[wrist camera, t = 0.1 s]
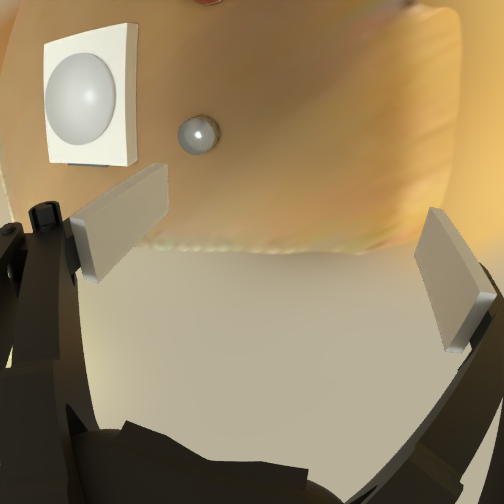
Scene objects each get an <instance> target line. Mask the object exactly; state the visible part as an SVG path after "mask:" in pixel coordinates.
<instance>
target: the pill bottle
mask: <svg viewBox="0 0 504 504" xmlns="http://www.w3.org/2000/svg"><path fill="white" fill-rule="evenodd" d="M194 1H196V2H198V3H201V4H214V3H217V2H219V1H221V0H194Z"/></svg>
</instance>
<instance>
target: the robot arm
mask: <svg viewBox="0 0 504 504" xmlns="http://www.w3.org/2000/svg"><path fill="white" fill-rule="evenodd" d="M28 213H29V217H30V221H31V225H32V229H33V233H24V231H23V227H22V224H21V223H19V222H14V223H8V224H5V225H4V226H3V227H2V228H0V504H455V503H456V501H457V500H458V498H459V496H460V495H461V493H462V491H463V486H464V485H463V484H461V483H460V479H461V477H462V475H463V474H464V472H465V471H466V469H467V467H468V466H469V464H470V462H471V460H472V459H473V457H474V455H475V453H476V452H477V449H478V448H479V446H480V444H481V442H482V440H483V438H484V437H485V435H486V433H487V431H488V429H489V427H490V424H491V422H492V420H493V418H494V416H495V414H496V411H497V409H498V407H499V405H500V402H501V400H502V398H503V403H502V409H501V415H500V422H499V427H498V432H497V437H496V441H495V446H494V450H493V455H492V458H491V462H490V466H489V470H488V474H487V477H486V480H485V483H484V487H483V490H482V493H481V496H480V499H479V502H478V504H504V298H503V296H502V294H501V292H500V291H499V289H498V287H497V286H496V284H495V282H494V280H493V279H492V277H491V275H490V274H489V272H488V270H487V269H486V268H485V267H484V266H483V265H482V264H481V263H479V262H478V261H477V259H476V257H475V256H474V254H473V253H472V251H471V250H470V248H469V247H468V245H467V243H466V242H465V240H464V239H463V237H462V236H461V235H460V233H459V232H458V230H457V229H456V227H455V226H454V224H453V223H452V222H451V220H450V219H449V217H448V216H447V214H446V213H445V212H444V210H442V209H438V208H434V207H430V208H429V211H428V215H427V218H426V221H425V224H424V227H423V230H422V233H421V236H420V239H419V242H418V245H417V248H416V251H415V253H414V257H415V259H416V262H417V265H418V267H419V270H420V273H421V276H422V278H423V281H424V284H425V287H426V290H427V292H428V296H429V299H430V302H431V305H432V308H433V312H434V315H435V318H436V321H437V325H438V328H439V331H440V335H441V339H442V342H443V346H444V350H445V352H451V353H462V352H463V350H464V349H465V347H466V346H467V344H468V343H469V342H470V345H471V348H472V350H471V352H470V353H469V355H468V356H467V358H466V359H465V360H464V362H463V363H462V365H461V366H460V367H459V369H458V372H457V374H456V375H455V377H454V379H453V380H452V382H451V383H450V385H449V386H448V388H447V389H446V390H445V392H444V394H443V395H442V396H441V398H440V399H439V400H438V402H437V403H436V405H435V406H434V408H433V409H432V410H431V411H430V413H429V414H428V415H427V417H426V418H425V419H424V421H423V422H422V423H421V424H420V426H419V427H418V428H417V429H416V431H415V432H414V433H413V435H412V436H411V437H410V438H409V439H408V440H407V442H406V443H405V444H404V445H403V446H402V448H401V449H400V450H399V451H398V452H397V453H396V454H395V455H394V456H393V458H392V459H391V460H390V461H389V462H388V463H387V464H386V465H385V466H384V467H383V468H382V469H381V470H380V471H379V473H377V475H376V476H375V477H374V478H373V479H372V480H371V481H370V482H369V483H367V484H366V485H365V486H364V487H363V488H362V489H361V490H360V491H359V492H357V493H356V494H355V495H354V496H352V497H351V498H350V499H349V500H348V501H346V502H345V503H343V502H342V501H341V500H340V499H339V498H338V497H337V496H335V495H334V494H333V493H332V492H330V491H329V490H327V489H326V488H324V487H322V486H320V485H318V484H316V483H314V482H312V481H310V480H307V476H308V469H304V468H297V467H290V466H284V465H278V464H273V463H267V462H262V461H255V462H254V461H253V462H236V461H235V462H234V461H211V460H207V459H205V458H203V457H201V456H200V455H198V454H196V453H194V452H192V451H191V450H189V449H187V448H186V447H184V446H182V445H181V444H179V443H177V442H176V441H174V440H173V439H171V438H170V437H168V436H166V435H164V434H161V433H158V432H155V431H152V430H150V429H147V428H144V427H142V426H139V425H137V424H134V423H132V422H129V421H127V420H126V422H125V423H124V425H123V427H122V429H121V430H119V429H99V426H98V424H97V422H96V419H95V415H94V410H93V406H92V401H91V396H90V390H89V385H88V379H87V373H86V366H85V359H84V353H83V344H82V337H81V326H80V316H79V303H78V285H77V277H76V274H75V272H76V271H77V270H78V269H79V268H80V267H81V270H82V273H83V277H84V279H85V280H88V281H92V282H95V283H99V282H100V281H101V280H102V279H103V278H104V277H105V276H106V275H107V274H108V273H109V272H110V271H111V270H112V269H113V267H114V266H115V265H116V264H117V263H118V262H119V261H120V260H121V259H122V258H123V257H124V256H125V255H126V254H127V253H128V252H129V251H130V250H131V249H132V248H133V247H134V246H135V245H136V244H137V243H138V242H139V241H140V240H141V239H142V238H143V237H144V236H145V235H146V234H147V233H148V232H149V231H150V230H151V229H152V228H153V227H154V226H155V225H156V224H157V223H158V222H159V221H161V220H162V219H163V218H164V217H165V216H166V215H167V214H168V213H169V196H168V167H167V163H153V164H151V165H149V166H148V167H146V168H144V169H142V170H141V171H139V172H137V173H136V174H134V175H133V176H131V177H129V178H128V179H126V180H124V181H123V182H121V183H120V184H118V185H116V186H115V187H113V188H112V189H110V190H109V191H107V192H105V193H104V194H102V195H101V196H99V197H98V198H96V199H95V200H93V201H92V202H90V203H89V204H87V205H86V206H84V207H83V208H81V209H80V210H79V211H77V212H76V213H74V214H73V215H71V216H70V217H69V218H67V219H66V220H64V221H62V216H61V211H60V206H59V203H58V202H56V201H47V202H43V203H40V204H38V205H35V206H34V207H32V208H31V209H30V210H29V212H28ZM8 273H9V276H10V277H9V276H8ZM12 346H13V350H12V365H11V367H10V368H6V364H7V361H8V358H9V355H10V352H11V348H12Z"/></svg>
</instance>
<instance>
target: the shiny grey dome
mask: <svg viewBox="0 0 504 504" xmlns="http://www.w3.org/2000/svg"><path fill="white" fill-rule="evenodd" d="M219 136H220V131H219V127H218V125H217V123H216V122H215V121H214V120H213V119H211V118H210V117H207V116H198V117H195V118H192V119H190V120H187V121H185V122H184V123H183V124H182V125H181V127H180V128H179V131H178V141H179V144H180V145H181V147H182V148H183V149H184V150H185V151H186V152H188V153H190V154H193V155H199V154H202V153H204V152H206V151H208V150H209V149H211V148H212V147H214V146H215V145H216V143H217V142H218V140H219Z"/></svg>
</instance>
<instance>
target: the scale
mask: <svg viewBox="0 0 504 504" xmlns="http://www.w3.org/2000/svg"><path fill="white" fill-rule="evenodd" d="M138 26H139V24H133V23H123V24H118V25H113V26H108V27H104V28H99V29H95V30H91V31H87V32H83V33H80V34H76V35H73V36H69V37H66V38H62V39H59V40H56V41H53V42H50V43H47V44H44V105H45V121H46V132H47V142H48V151H49V159H50V163H68V165H78V166H97V167H107V166H109V165H115V166H129V165H131V164H133V163H135V162H136V161H138V156H137V130H136V67H137V42H138Z"/></svg>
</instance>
